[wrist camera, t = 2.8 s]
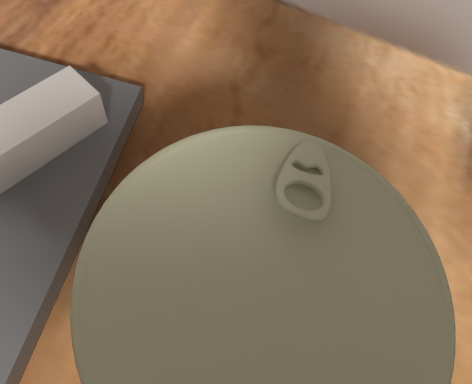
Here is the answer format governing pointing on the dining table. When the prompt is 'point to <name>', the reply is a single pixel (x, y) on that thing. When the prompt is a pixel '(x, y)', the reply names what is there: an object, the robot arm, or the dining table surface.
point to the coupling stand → (50, 184)
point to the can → (259, 271)
